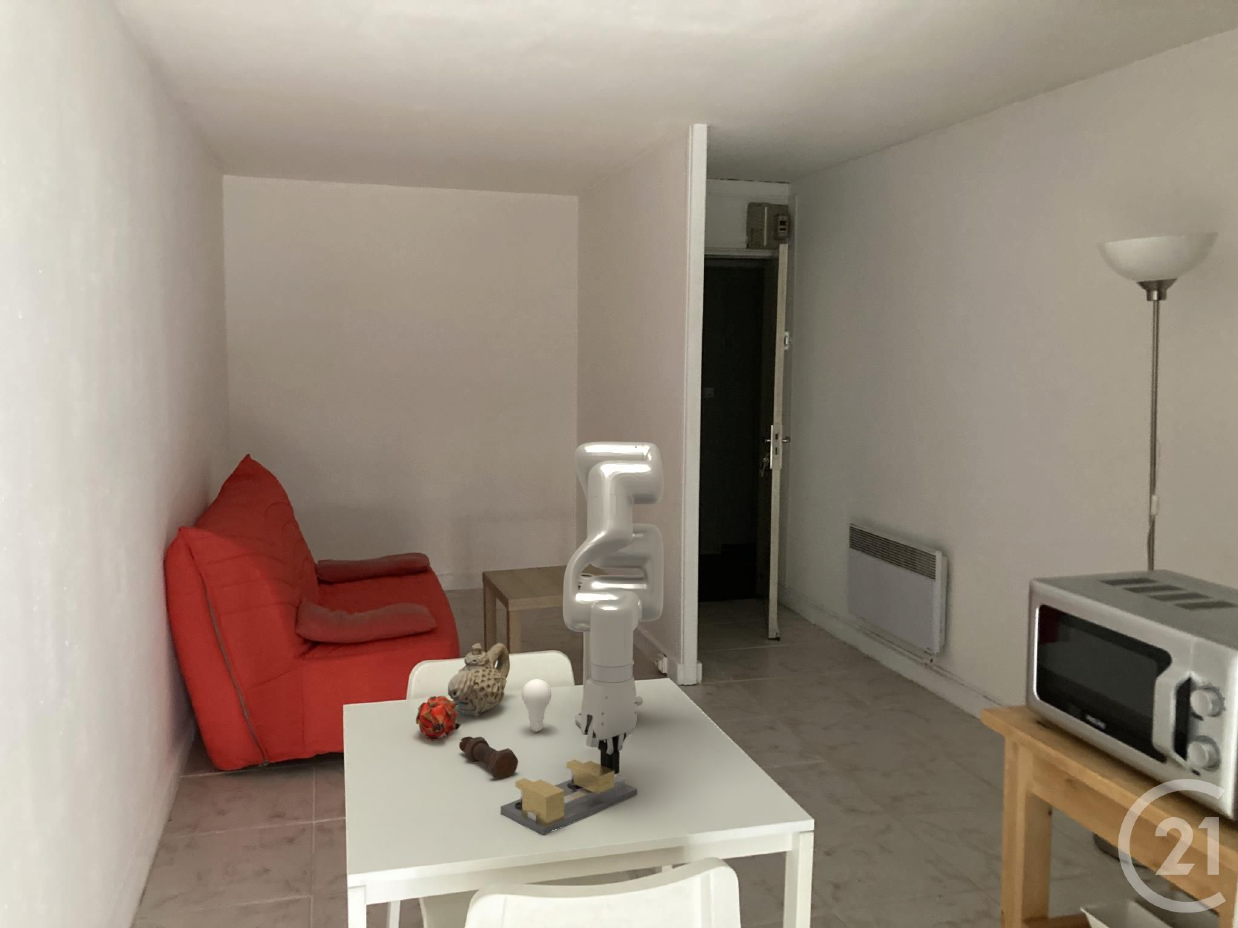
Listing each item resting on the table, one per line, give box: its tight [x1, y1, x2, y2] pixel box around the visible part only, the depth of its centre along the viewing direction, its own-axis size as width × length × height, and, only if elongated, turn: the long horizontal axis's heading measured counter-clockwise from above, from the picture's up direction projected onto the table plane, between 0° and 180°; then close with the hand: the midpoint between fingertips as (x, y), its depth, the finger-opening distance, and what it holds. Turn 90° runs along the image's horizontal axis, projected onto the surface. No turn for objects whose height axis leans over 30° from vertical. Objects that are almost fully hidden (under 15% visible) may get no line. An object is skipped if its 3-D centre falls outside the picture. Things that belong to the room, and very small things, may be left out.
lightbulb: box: [521, 678, 552, 733], centre depth 209 cm, size 6×6×11 cm
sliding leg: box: [565, 759, 615, 794], centre depth 178 cm, size 4×9×4 cm, turn 45°
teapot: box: [447, 642, 511, 717], centre depth 221 cm, size 21×12×15 cm, turn 155°
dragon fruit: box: [415, 695, 462, 742], centre depth 207 cm, size 8×8×12 cm
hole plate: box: [500, 774, 638, 836], centre depth 176 cm, size 22×11×6 cm, turn 135°
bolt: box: [458, 736, 519, 781], centre depth 193 cm, size 6×5×15 cm
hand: (609, 771), depth 180 cm, fingers closed
